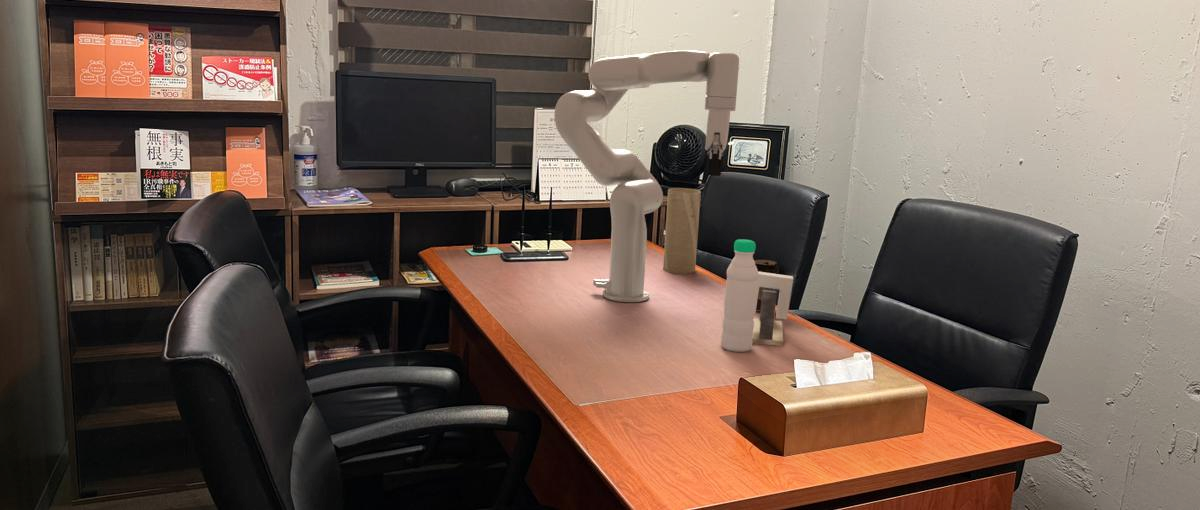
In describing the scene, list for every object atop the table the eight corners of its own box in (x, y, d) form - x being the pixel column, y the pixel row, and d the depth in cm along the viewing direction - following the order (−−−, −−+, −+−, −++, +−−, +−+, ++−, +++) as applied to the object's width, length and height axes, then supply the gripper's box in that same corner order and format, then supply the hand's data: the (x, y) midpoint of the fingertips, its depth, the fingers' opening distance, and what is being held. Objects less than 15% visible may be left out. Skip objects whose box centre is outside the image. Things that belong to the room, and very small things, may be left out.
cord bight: (744, 313, 209) (750, 273, 207) (744, 310, 212) (750, 270, 210) (786, 319, 208) (793, 278, 206) (786, 316, 211) (792, 276, 208)
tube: (700, 269, 275) (706, 190, 269) (686, 275, 267) (691, 194, 261) (672, 264, 280) (677, 187, 275) (657, 269, 272) (662, 190, 266)
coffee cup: (775, 315, 228) (779, 266, 225) (742, 312, 229) (747, 263, 226) (775, 306, 236) (779, 259, 233) (744, 303, 238) (748, 256, 235)
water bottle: (717, 342, 203) (726, 237, 197) (747, 343, 203) (756, 237, 198) (724, 352, 196) (733, 243, 190) (755, 353, 196) (765, 244, 191)
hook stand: (747, 342, 204) (752, 290, 201) (749, 322, 220) (753, 274, 217) (782, 346, 202) (787, 294, 200) (781, 325, 219) (786, 277, 216)
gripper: (707, 102, 225) (702, 168, 228) (702, 104, 208) (697, 176, 212) (736, 103, 223) (731, 170, 227) (734, 106, 207) (728, 178, 210)
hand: (715, 173), depth 219 cm, fingers open, 9 cm apart
